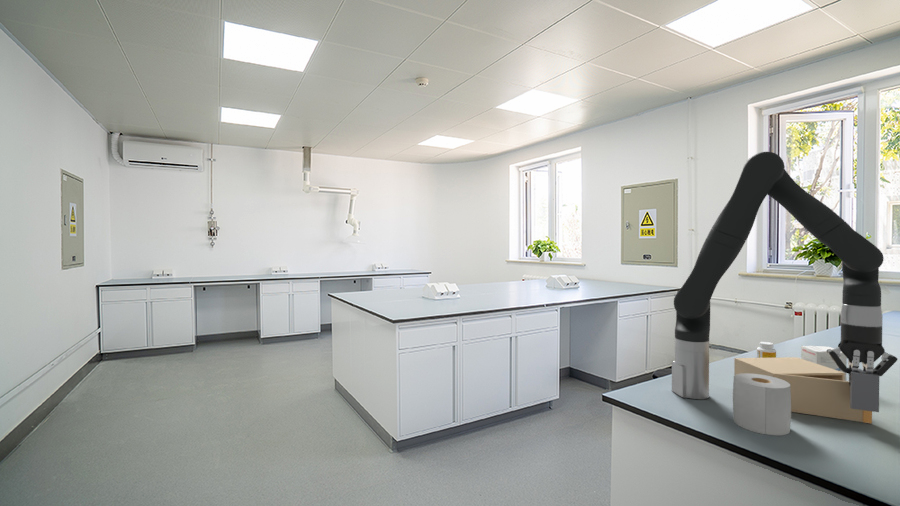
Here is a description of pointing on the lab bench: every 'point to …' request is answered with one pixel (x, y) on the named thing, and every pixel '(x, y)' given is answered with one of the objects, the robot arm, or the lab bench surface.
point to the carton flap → (835, 396)
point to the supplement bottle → (766, 350)
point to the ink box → (821, 356)
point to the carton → (785, 367)
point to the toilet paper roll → (762, 404)
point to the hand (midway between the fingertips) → (860, 390)
